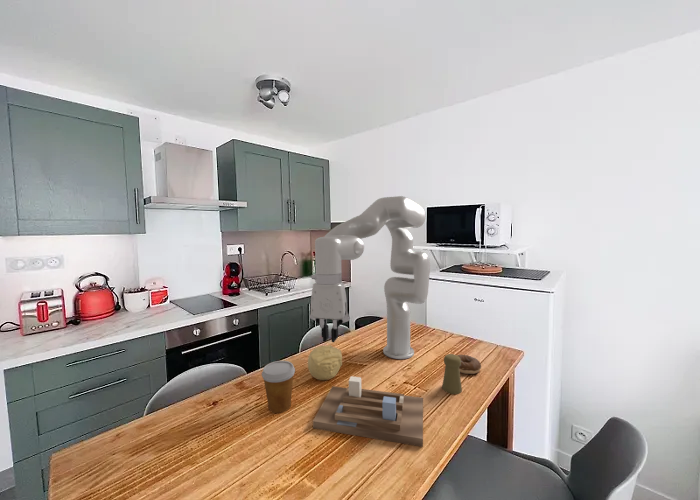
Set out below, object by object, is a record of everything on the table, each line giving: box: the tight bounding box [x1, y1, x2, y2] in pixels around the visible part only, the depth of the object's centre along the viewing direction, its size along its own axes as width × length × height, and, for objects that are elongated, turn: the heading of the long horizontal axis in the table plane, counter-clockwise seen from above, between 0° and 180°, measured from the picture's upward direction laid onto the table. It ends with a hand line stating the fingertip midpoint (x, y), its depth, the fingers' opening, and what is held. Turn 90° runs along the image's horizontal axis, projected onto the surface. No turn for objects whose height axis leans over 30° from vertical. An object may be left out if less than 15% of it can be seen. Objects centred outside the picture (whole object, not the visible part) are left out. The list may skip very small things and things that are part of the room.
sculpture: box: [307, 344, 343, 381], centre depth 103 cm, size 12×12×11 cm
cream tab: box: [348, 375, 362, 397], centre depth 86 cm, size 3×3×6 cm
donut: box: [456, 354, 482, 375], centre depth 107 cm, size 11×11×4 cm
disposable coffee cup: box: [261, 360, 296, 414], centre depth 85 cm, size 10×10×12 cm
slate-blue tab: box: [382, 396, 396, 421], centre depth 76 cm, size 3×3×6 cm
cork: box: [441, 353, 463, 395], centre depth 94 cm, size 6×6×11 cm
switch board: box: [312, 385, 424, 448], centre depth 81 cm, size 17×28×3 cm, turn 76°
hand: (330, 339), depth 87 cm, fingers closed
